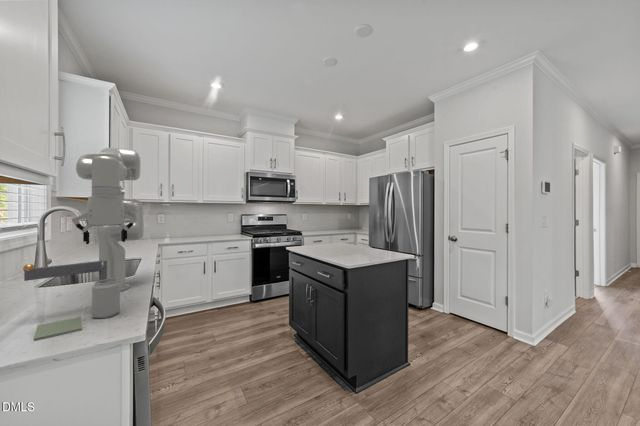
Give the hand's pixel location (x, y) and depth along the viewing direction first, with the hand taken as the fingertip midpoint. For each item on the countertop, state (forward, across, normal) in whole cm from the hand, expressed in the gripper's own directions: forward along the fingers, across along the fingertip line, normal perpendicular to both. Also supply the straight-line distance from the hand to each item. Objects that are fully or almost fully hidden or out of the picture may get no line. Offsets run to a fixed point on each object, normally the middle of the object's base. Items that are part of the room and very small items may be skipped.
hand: (106, 242), depth 92 cm
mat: (+25, +11, +4) cm, 28 cm away
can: (+25, 0, 0) cm, 25 cm away
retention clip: (+24, +9, -12) cm, 28 cm away
